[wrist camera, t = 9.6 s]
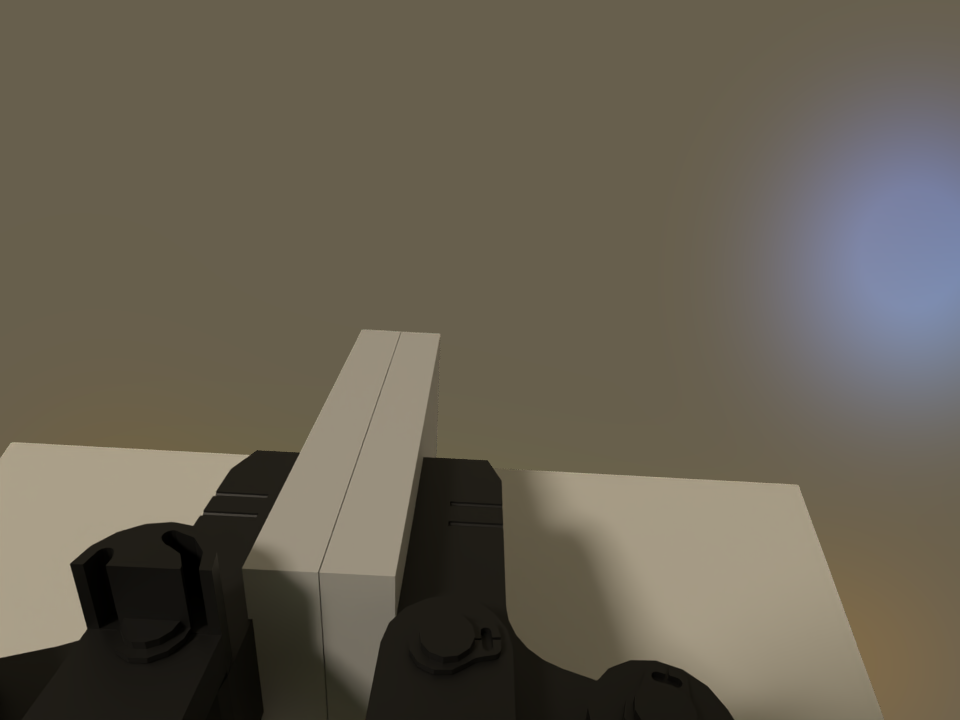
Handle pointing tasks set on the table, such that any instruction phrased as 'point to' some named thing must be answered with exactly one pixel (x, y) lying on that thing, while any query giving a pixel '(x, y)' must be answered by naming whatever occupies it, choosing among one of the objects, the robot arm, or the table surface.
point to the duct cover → (514, 570)
